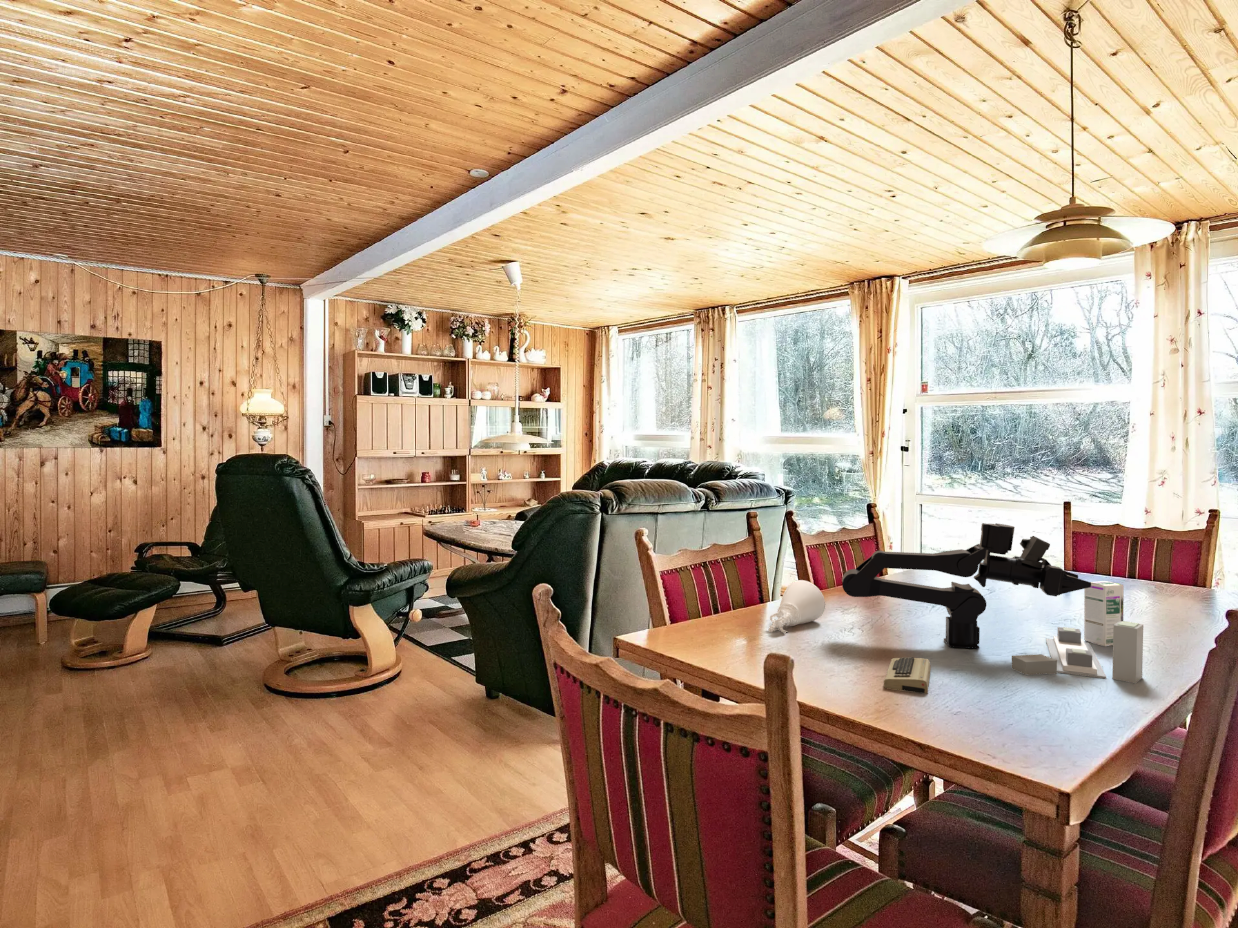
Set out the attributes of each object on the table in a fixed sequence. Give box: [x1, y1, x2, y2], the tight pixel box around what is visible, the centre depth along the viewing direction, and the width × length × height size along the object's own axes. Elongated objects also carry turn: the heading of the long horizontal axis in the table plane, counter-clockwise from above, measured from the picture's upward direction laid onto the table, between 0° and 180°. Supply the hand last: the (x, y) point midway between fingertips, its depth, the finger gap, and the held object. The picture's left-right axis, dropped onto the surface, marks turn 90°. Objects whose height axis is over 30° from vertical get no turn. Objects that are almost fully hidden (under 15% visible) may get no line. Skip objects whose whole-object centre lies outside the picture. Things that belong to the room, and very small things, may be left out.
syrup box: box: [1083, 580, 1125, 647], centre depth 177 cm, size 6×6×14 cm
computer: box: [883, 656, 932, 695], centre depth 150 cm, size 16×8×3 cm, turn 155°
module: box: [1111, 620, 1144, 684], centre depth 150 cm, size 4×5×11 cm
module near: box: [1066, 648, 1092, 668], centre depth 156 cm, size 4×4×3 cm
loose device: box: [1011, 653, 1058, 676], centre depth 155 cm, size 7×4×3 cm, turn 98°
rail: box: [1045, 635, 1107, 679], centre depth 165 cm, size 9×28×1 cm, turn 153°
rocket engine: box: [768, 579, 826, 634], centre depth 192 cm, size 12×12×18 cm
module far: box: [1056, 626, 1082, 644], centre depth 174 cm, size 4×4×3 cm
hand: (1084, 581), depth 167 cm, fingers open, 9 cm apart
